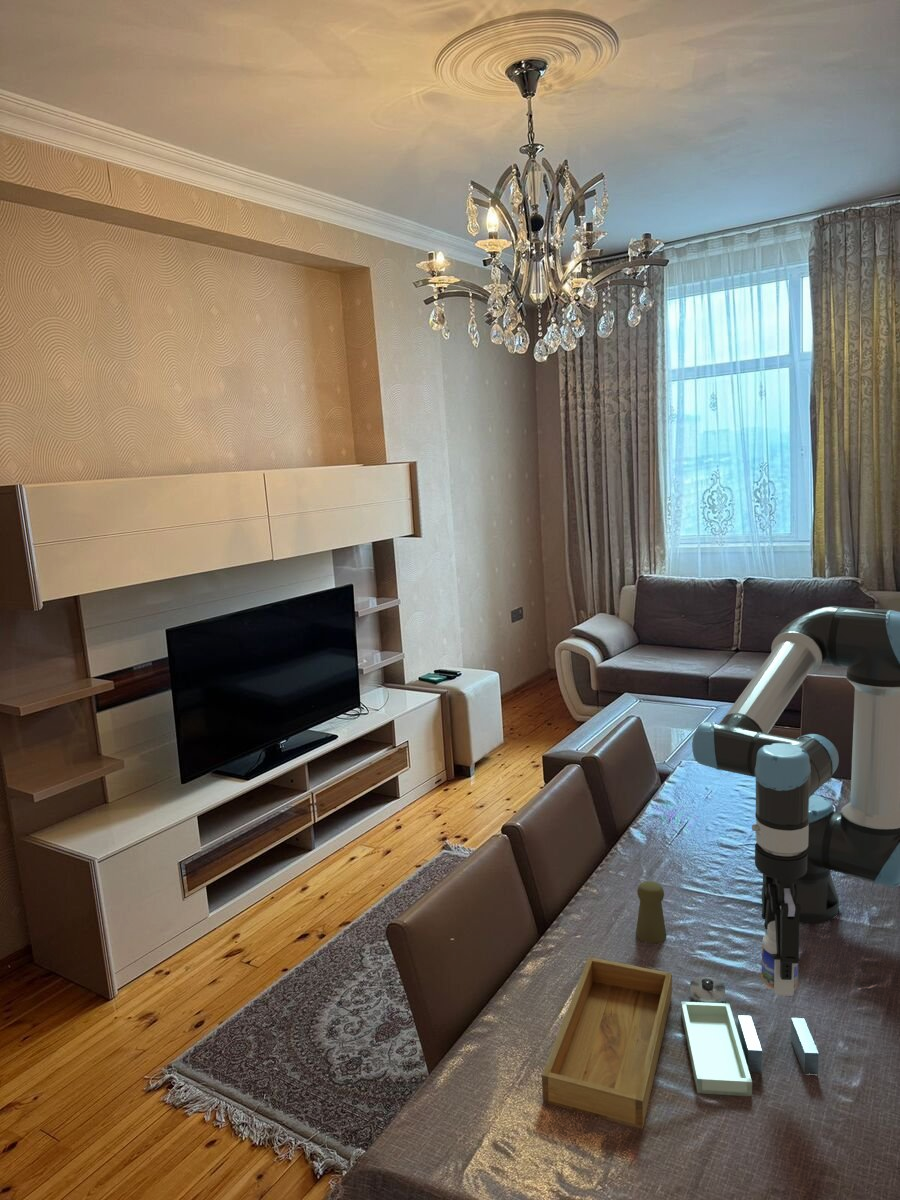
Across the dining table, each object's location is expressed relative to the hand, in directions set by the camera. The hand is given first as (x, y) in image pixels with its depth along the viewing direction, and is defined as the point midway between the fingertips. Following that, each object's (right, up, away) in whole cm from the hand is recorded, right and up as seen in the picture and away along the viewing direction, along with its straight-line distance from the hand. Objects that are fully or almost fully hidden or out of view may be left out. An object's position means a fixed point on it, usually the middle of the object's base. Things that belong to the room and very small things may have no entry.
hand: (778, 980), depth 132 cm
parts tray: (-9, -13, +4) cm, 16 cm away
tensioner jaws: (0, -13, +2) cm, 13 cm away
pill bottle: (0, -1, 0) cm, 1 cm away
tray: (-25, -14, +6) cm, 30 cm away
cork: (-11, -8, +37) cm, 39 cm away
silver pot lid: (-6, -11, +17) cm, 21 cm away
